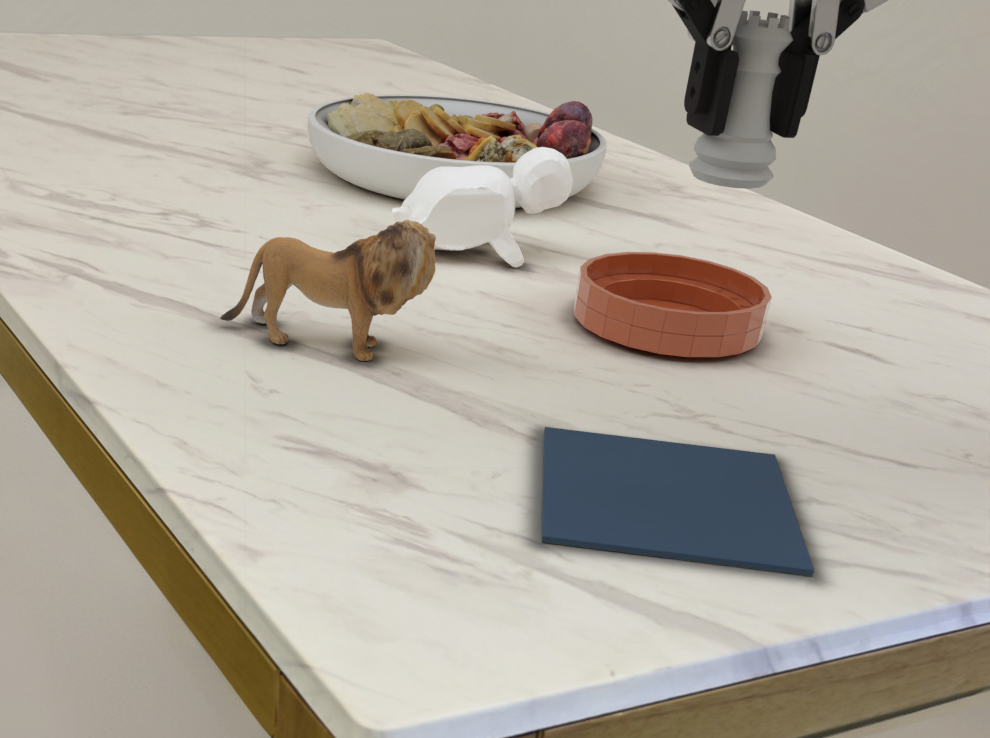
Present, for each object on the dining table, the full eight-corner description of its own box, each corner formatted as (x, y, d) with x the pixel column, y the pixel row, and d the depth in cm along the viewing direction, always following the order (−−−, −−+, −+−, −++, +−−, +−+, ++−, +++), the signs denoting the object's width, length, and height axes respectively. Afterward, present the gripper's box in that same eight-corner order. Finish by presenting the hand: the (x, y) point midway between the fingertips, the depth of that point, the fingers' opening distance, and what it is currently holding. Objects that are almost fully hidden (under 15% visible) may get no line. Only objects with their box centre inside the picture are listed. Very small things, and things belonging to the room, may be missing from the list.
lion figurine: (432, 343, 89) (445, 215, 84) (419, 371, 85) (433, 237, 80) (230, 314, 91) (232, 187, 86) (208, 340, 86) (208, 206, 81)
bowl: (333, 215, 114) (339, 124, 110) (286, 136, 139) (289, 59, 134) (643, 222, 121) (659, 136, 116) (545, 145, 145) (555, 72, 141)
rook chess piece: (680, 165, 69) (711, 4, 65) (761, 172, 69) (798, 12, 65) (694, 186, 65) (728, 16, 61) (780, 193, 65) (820, 24, 61)
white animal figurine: (425, 301, 106) (596, 239, 105) (396, 204, 101) (575, 139, 100) (408, 268, 113) (568, 210, 112) (380, 176, 108) (547, 115, 107)
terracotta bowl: (746, 307, 101) (757, 263, 99) (771, 372, 89) (784, 323, 88) (572, 288, 102) (579, 243, 100) (573, 349, 90) (582, 300, 88)
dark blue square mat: (773, 460, 77) (775, 454, 77) (812, 576, 65) (814, 569, 65) (544, 432, 78) (545, 426, 78) (541, 542, 66) (542, 536, 66)
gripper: (698, -327, 51) (618, 144, 61) (1047, -286, 55) (919, 152, 65) (627, -317, 57) (566, 110, 67) (946, -280, 61) (843, 119, 71)
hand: (740, 127), depth 66 cm, fingers closed on rook chess piece, 3 cm apart
